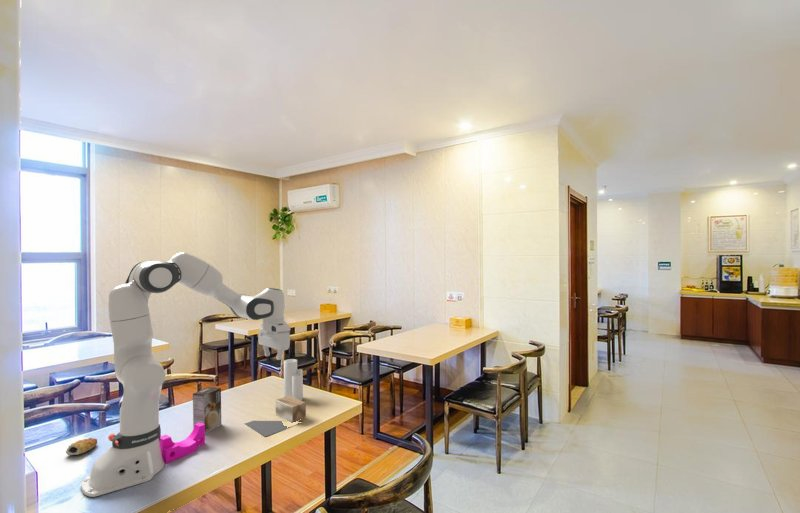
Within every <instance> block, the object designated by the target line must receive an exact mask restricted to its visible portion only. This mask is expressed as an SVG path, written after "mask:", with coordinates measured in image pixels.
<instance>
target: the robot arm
mask: <svg viewBox="0 0 800 513" xmlns="http://www.w3.org/2000/svg"><path fill="white" fill-rule="evenodd" d="M177 283H179V284H181V285H184V286H185V287H187V288H189V289H191V290H193V292H194V291H195V292H197V293H198V294H202V295H205V296H210V297H212V298H214V299H216V300H218V301H219V302H221V303H222V304H225V305H226V306H228V307H229V309H230V311H232V313H233V314H234V316H236V317H238V318H240V319H246V320H252V321H258V320H262V324H261V325H260V328H259V330H258V336H257V337H258V338H257V339H258V340H257V342H258V344H259V345H260V346H262V349H263V352H264V356H265V357H270V356H271V351H270V348H271V349H274V350H276V352H277V354H276V355H275V359H276V360H277V361H280V360H282V356H283V353H284V351H287V350H289V349H290V344H291V335H290V331H291V326H290V324H288V323H287V322H286V320H285V315H284V313H285V295H284V294H285V293H284V291H283V290H281V289H279V288H273V287H267V288H265V289H264V290H263V291H261V292H260V293H258V294H255V295H247V294H241V293H238V292H236V291H235V290H234V289H231V288H230V287H228V286H227V285H225V284H224V283H223V275H222V273H221V272H220V271H219V270H218V269H217V268H216V267H214V266H213V265H212V264H210V263H208V262H207V261H205V260H203V259H201V258H199V257H197V256H195V255H193V254H190V253H187V252H182V251H181V252H178V253H176V254H174V255H172V256H171V257H170V259H169V260H168V261H159V260H156V259H155V260H152V259H151V260H144V261H143V260H142V261H140V262H138V263H137V264H135V265H134V266H133V267H132V268H131V270H130V272H129V274H128V277H127V278H126V281H125V284H124V283H123V284H120V285H117V286H115V287H113V288H112V289H111V290H110V291H109V294H108V317H109V323H110V328H111V335H112V336H111V337H112V340H113V341H112V342H113V358H114V359H113V361H114V372H115V377H116V379H117V380H118V381H119V383H121V384H122V386H123V393H122V394H123V395H122V400H121V406H120V409H119V432H117V434H115V433H110V434H109V435H108V436H107V439H108V440H109V442H111V443H112V444H111V447H109V449H107V450H106V451H105V452H104V453H103V454H101V455H100V456H99V457H98V458H97V459H96V460H95V461H94V462H93V464H92V466H91V468H90V474H89V475H88V476H85V478H83V480H82V481H81V484H80V489H81V492H82V493H83V494H84V495H85V496H87V497H91V498H94V497H98V496H103V495H106V494H109V493H111V492H115V491H119V490H123V489H126V488H130V487H132V486H135V485H140V484H142V483H146V482H149V481H151V480H152V479H153V478H154V477H155V475H156V474H158V473H159V472H160V471H161V470H162V469H164V467H165V465H166V463H165V462H164V461H163V458H162V454H161V449H160V437H161V436H162V434H161V433H162V430H161V424H160V423H159V422H160V419H159V417H160V409H159V408H160V397H161V393H162V389H163V388H162V387H163V383H165V379H166V371H165V369H164V367H163V365H162V364H161V362H159V361H157V360H156V359H155V358H153V353H152V352H153V351H152V350H153V349H152V346H153V345H152V342H153V337H154V333H153V328H152V327H153V326H152V320H151V313H150V309H149V298H150V297H151V295H152V293H153V294H160V293H161V294H162V293H165V292H167V291H168V290H170V289H172V287H174V286H175V285H176V284H177Z"/></svg>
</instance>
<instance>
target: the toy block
mask: <svg viewBox="0 0 800 513" xmlns="http://www.w3.org/2000/svg"><path fill="white" fill-rule="evenodd" d="M203 445H206V433H205V425H204V424H202V423H200V422H199V423H197V424H195V425H194V429H193V428H192V431H191V432H190V433H189V435H188V436H187V437H186V438H185V439H183V440H181V441H176V442H175V441H173V440H172V437H171V436H170V435H168V434H163V435H161V437H160V449H161V454H162V458H163V461H164V463H165V464H168V463H170V462H172V461H176V460H177V459H180V458H182V457H185V456H187V455H189V454H192V453H195V452H197V448H198V447H200V446H203Z"/></svg>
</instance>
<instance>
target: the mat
mask: <svg viewBox="0 0 800 513" xmlns="http://www.w3.org/2000/svg"><path fill="white" fill-rule="evenodd" d="M282 421H283V420H251V421H248V422H245V423H244V425H245V426H247V427H249V428H250V429H251V430H253V431H255V432H257V433H258V434H260V435H261V436H262V437H264V438H268V437H270V436H272V435H275V434H277V433H280V432H282V431H285V430H288V429H290V428H289V427H288V429H287V426H284V425H283V423H282Z"/></svg>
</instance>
